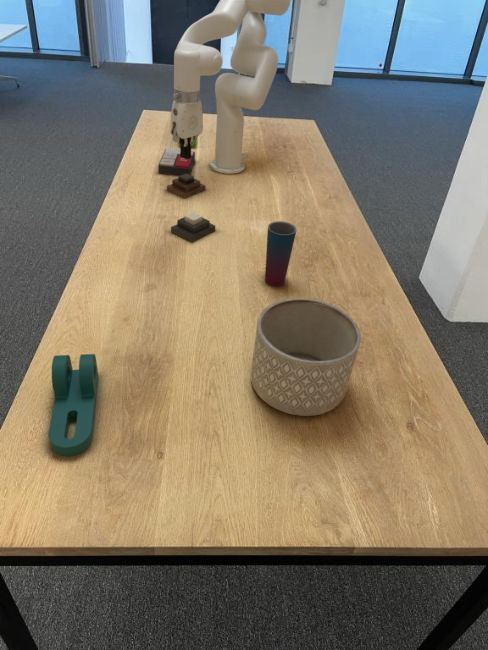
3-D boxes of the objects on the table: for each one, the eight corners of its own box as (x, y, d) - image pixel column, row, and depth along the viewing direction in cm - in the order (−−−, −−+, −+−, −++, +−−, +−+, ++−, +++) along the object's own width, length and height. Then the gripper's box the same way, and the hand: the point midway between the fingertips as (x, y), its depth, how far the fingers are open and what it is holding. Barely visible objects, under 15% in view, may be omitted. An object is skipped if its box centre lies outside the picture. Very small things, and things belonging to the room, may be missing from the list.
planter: (275, 432, 89) (286, 374, 80) (235, 364, 102) (241, 307, 93) (362, 406, 96) (381, 350, 87) (314, 345, 109) (326, 291, 100)
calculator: (157, 163, 173) (165, 146, 184) (158, 175, 175) (165, 157, 187) (189, 166, 173) (195, 149, 184) (189, 178, 176) (195, 160, 187)
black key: (186, 178, 166) (186, 173, 165) (194, 181, 164) (194, 176, 163) (178, 181, 164) (178, 176, 163) (186, 184, 162) (186, 179, 161)
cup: (291, 277, 129) (299, 225, 120) (284, 291, 124) (292, 237, 115) (265, 271, 131) (272, 218, 121) (257, 284, 126) (264, 230, 116)
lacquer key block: (194, 221, 149) (195, 210, 147) (215, 230, 146) (215, 219, 144) (170, 232, 143) (170, 221, 141) (191, 242, 139) (191, 231, 137)
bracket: (61, 379, 95) (55, 347, 90) (98, 377, 96) (94, 346, 91) (47, 457, 81) (39, 425, 76) (91, 454, 82) (85, 422, 77)
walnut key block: (187, 182, 171) (188, 172, 169) (205, 190, 167) (205, 180, 165) (166, 190, 165) (166, 180, 162) (184, 198, 161) (184, 188, 159)
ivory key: (193, 217, 144) (193, 212, 143) (202, 222, 143) (202, 216, 142) (184, 221, 142) (184, 215, 141) (193, 226, 140) (193, 220, 139)
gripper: (177, 102, 141) (177, 166, 152) (213, 95, 151) (210, 156, 162) (159, 96, 144) (160, 159, 156) (194, 89, 154) (193, 149, 165)
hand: (185, 157), depth 159 cm, fingers closed
